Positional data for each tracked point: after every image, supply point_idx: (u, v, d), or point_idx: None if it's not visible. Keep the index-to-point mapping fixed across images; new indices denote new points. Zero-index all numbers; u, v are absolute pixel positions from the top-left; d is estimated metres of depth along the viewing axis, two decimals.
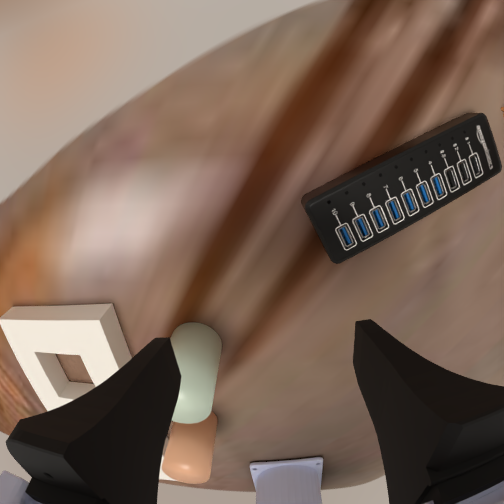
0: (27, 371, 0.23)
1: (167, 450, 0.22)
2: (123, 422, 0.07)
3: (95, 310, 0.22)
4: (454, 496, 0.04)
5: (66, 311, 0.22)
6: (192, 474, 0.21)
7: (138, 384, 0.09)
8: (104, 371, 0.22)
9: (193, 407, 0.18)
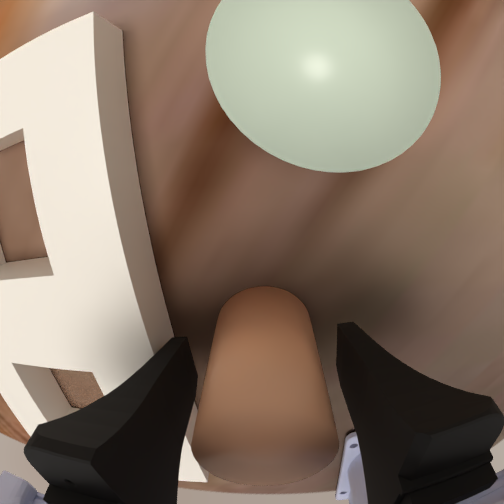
0: None
1: (209, 389, 0.08)
2: (146, 424, 0.07)
3: None
4: None
5: None
6: (285, 456, 0.07)
7: (159, 385, 0.09)
8: (65, 160, 0.09)
9: (384, 71, 0.04)
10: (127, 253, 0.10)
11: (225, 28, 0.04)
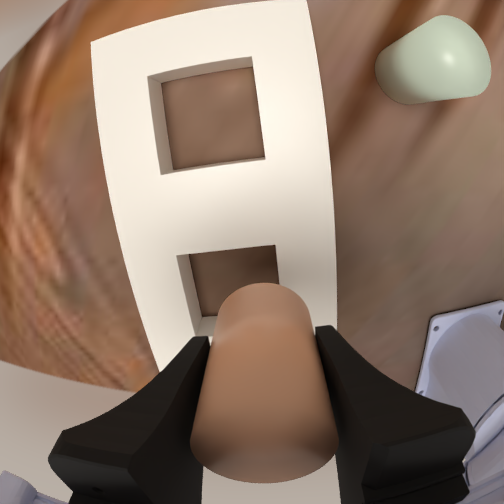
0: (108, 132, 0.15)
1: (209, 384, 0.08)
2: (175, 426, 0.07)
3: None
4: None
5: None
6: (284, 453, 0.07)
7: (185, 385, 0.09)
8: (291, 81, 0.14)
9: (474, 63, 0.10)
10: (327, 145, 0.16)
11: (427, 38, 0.10)
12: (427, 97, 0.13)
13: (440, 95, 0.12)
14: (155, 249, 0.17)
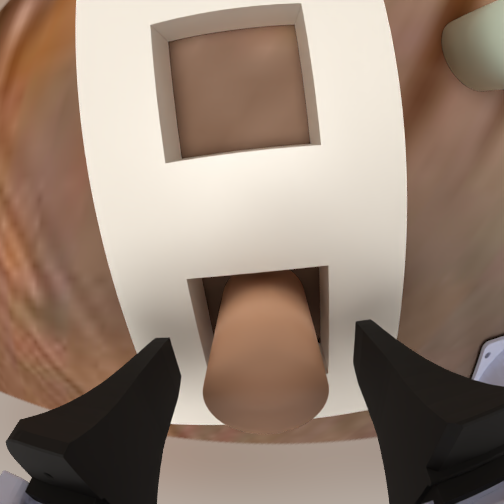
0: (92, 103, 0.10)
1: (219, 340, 0.10)
2: (123, 422, 0.07)
3: None
4: (454, 497, 0.04)
5: None
6: (283, 400, 0.09)
7: (138, 384, 0.09)
8: (355, 40, 0.09)
9: None
10: (401, 131, 0.10)
11: None
12: None
13: None
14: (157, 270, 0.12)
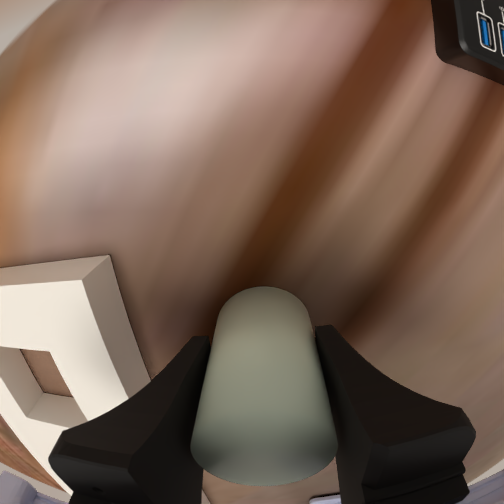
0: None
1: None
2: (175, 426, 0.07)
3: (77, 266, 0.12)
4: None
5: (28, 271, 0.12)
6: None
7: (185, 385, 0.09)
8: (93, 382, 0.12)
9: (295, 458, 0.07)
10: None
11: (200, 444, 0.07)
12: None
13: None
14: (44, 453, 0.15)
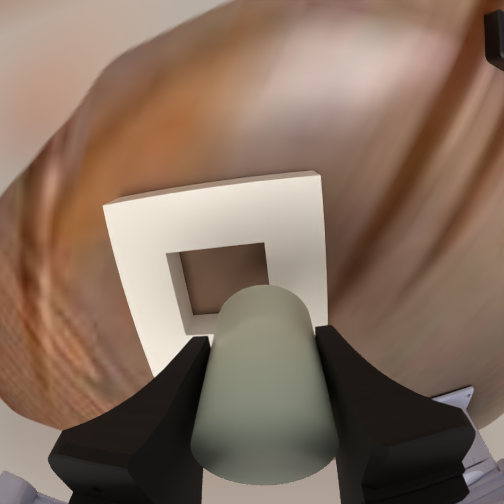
0: (135, 297, 0.19)
1: None
2: (175, 426, 0.07)
3: (296, 173, 0.17)
4: None
5: (243, 179, 0.17)
6: None
7: (185, 385, 0.09)
8: (299, 266, 0.18)
9: (296, 457, 0.07)
10: (326, 314, 0.19)
11: (200, 443, 0.07)
12: None
13: None
14: None
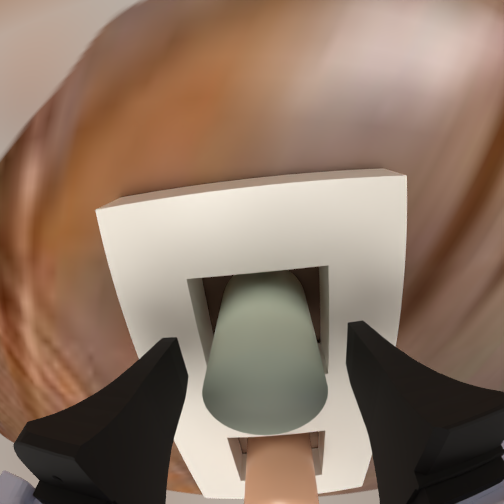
0: (142, 335, 0.13)
1: (249, 483, 0.14)
2: (133, 423, 0.07)
3: (368, 171, 0.12)
4: (443, 501, 0.04)
5: (297, 176, 0.12)
6: None
7: (147, 384, 0.09)
8: (370, 296, 0.12)
9: (292, 403, 0.09)
10: None
11: (211, 388, 0.09)
12: None
13: None
14: (205, 432, 0.16)
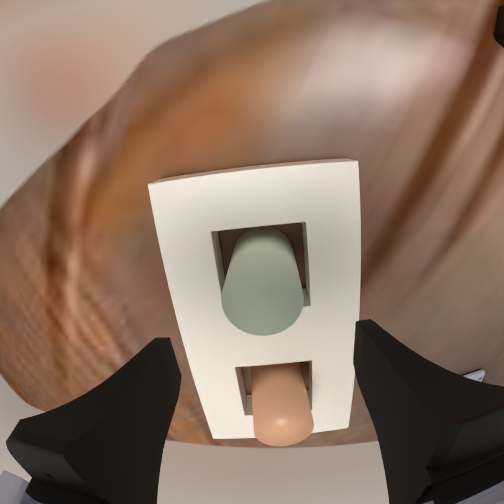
0: (175, 276, 0.20)
1: (255, 409, 0.20)
2: (123, 422, 0.07)
3: (333, 160, 0.18)
4: (454, 496, 0.04)
5: (285, 164, 0.18)
6: (292, 428, 0.19)
7: (138, 384, 0.09)
8: (337, 245, 0.19)
9: (280, 306, 0.16)
10: (358, 292, 0.20)
11: (227, 294, 0.15)
12: None
13: None
14: (217, 362, 0.22)
